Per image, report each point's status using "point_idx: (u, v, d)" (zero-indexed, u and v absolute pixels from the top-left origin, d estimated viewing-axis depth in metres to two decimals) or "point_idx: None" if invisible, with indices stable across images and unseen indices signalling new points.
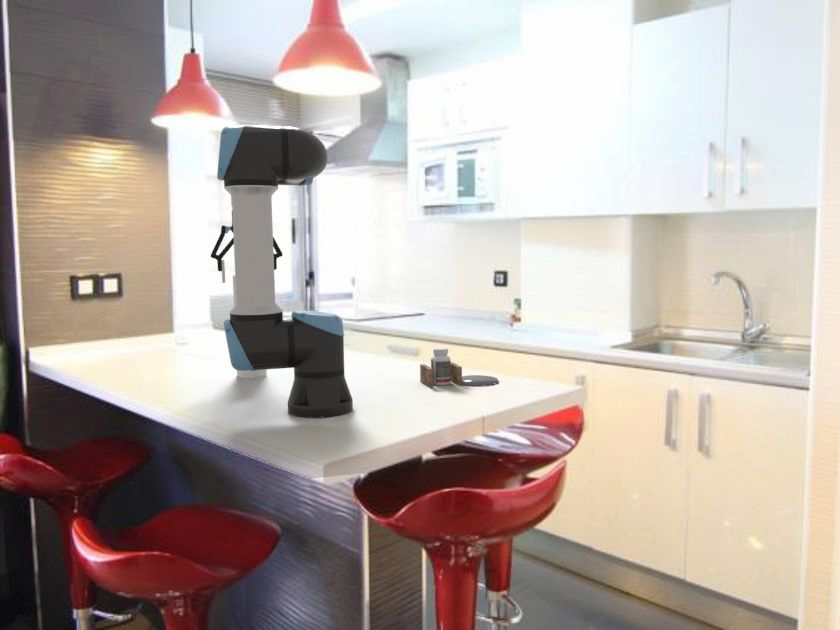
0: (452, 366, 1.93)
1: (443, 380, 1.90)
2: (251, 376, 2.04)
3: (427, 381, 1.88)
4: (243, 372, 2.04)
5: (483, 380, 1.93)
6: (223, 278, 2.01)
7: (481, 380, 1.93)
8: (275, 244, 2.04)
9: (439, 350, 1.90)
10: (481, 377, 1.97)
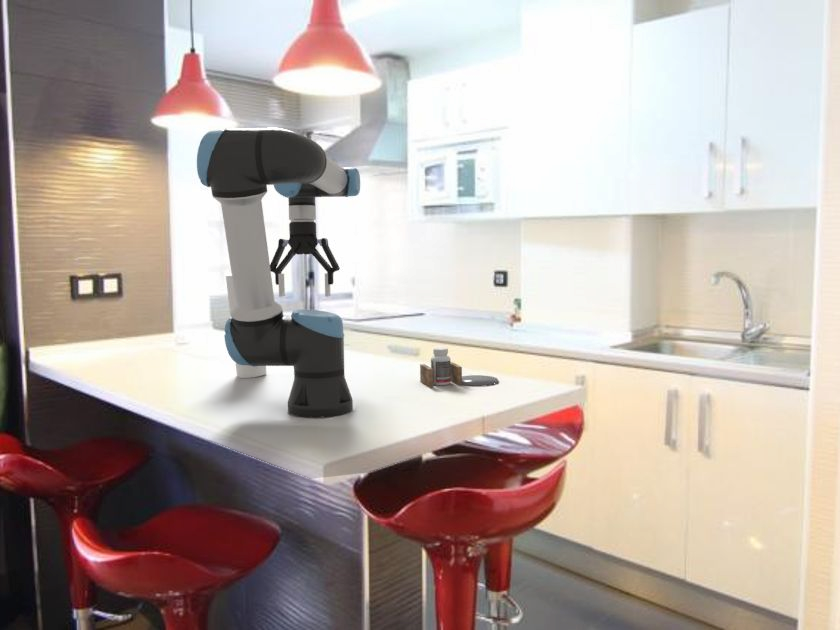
0: (452, 366, 1.93)
1: (443, 380, 1.90)
2: (251, 375, 2.04)
3: (427, 381, 1.88)
4: (243, 372, 2.04)
5: (483, 380, 1.93)
6: (279, 292, 1.99)
7: (481, 380, 1.93)
8: (330, 258, 1.96)
9: (439, 350, 1.90)
10: (481, 377, 1.97)
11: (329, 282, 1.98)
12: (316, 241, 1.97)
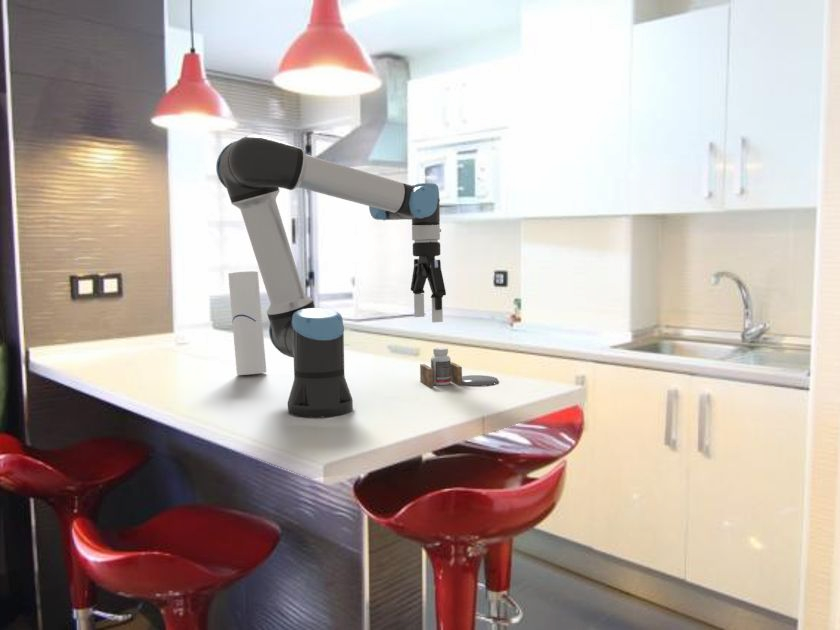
0: (452, 366, 1.93)
1: (443, 380, 1.90)
2: (250, 372, 2.04)
3: (427, 381, 1.88)
4: (242, 369, 2.04)
5: (483, 380, 1.93)
6: (414, 312, 1.97)
7: (481, 380, 1.93)
8: (434, 282, 1.82)
9: (439, 350, 1.90)
10: (481, 377, 1.97)
11: (435, 307, 1.84)
12: (429, 263, 1.86)
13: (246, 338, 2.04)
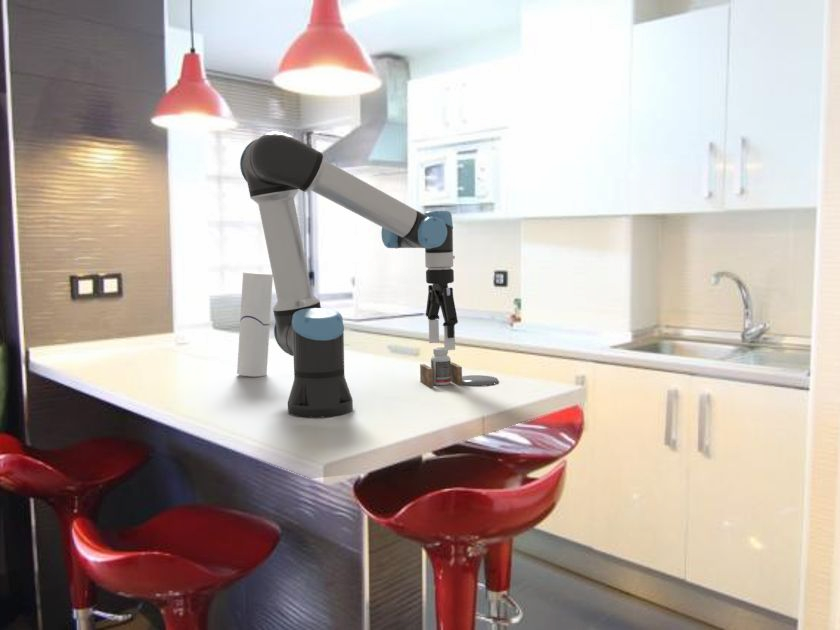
0: (452, 366, 1.93)
1: (443, 380, 1.90)
2: (251, 374, 2.04)
3: (427, 381, 1.88)
4: (243, 370, 2.04)
5: (483, 380, 1.93)
6: (429, 338, 1.97)
7: (481, 380, 1.93)
8: (446, 310, 1.82)
9: (439, 350, 1.90)
10: (481, 377, 1.97)
11: (448, 335, 1.84)
12: (442, 290, 1.85)
13: (251, 340, 2.03)
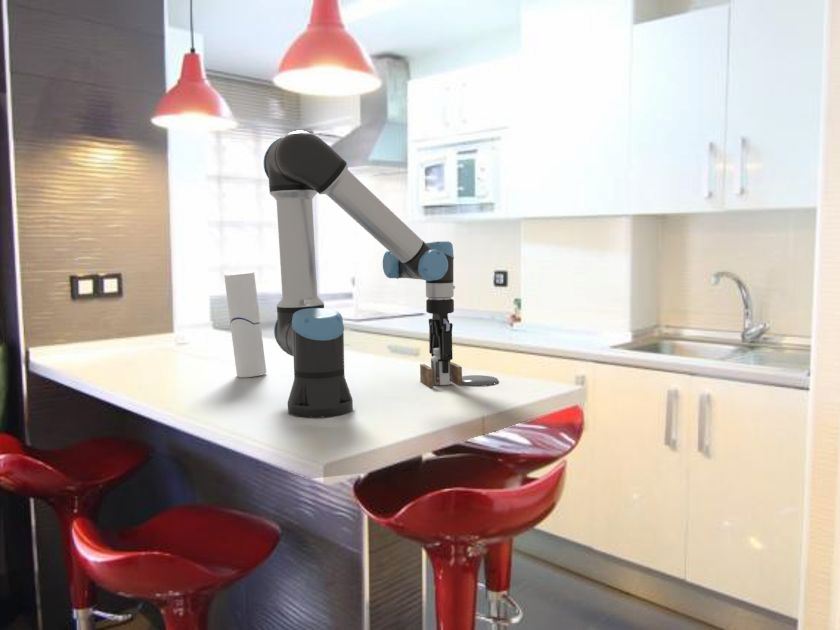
0: (452, 366, 1.93)
1: None
2: (250, 375, 2.04)
3: (427, 381, 1.88)
4: (242, 371, 2.04)
5: (483, 380, 1.93)
6: None
7: (481, 380, 1.93)
8: (443, 345, 1.85)
9: (439, 350, 1.90)
10: (481, 377, 1.97)
11: (442, 371, 1.88)
12: (442, 322, 1.86)
13: (244, 341, 2.03)
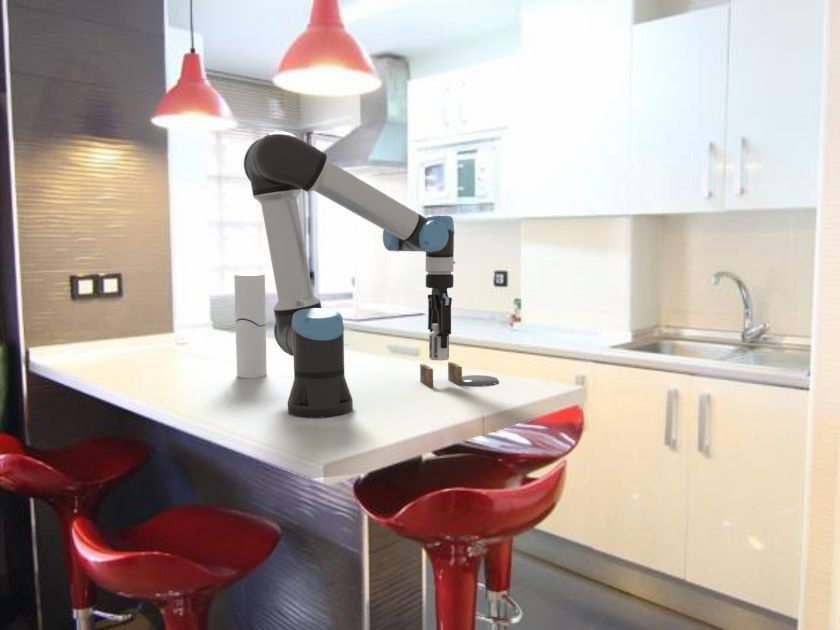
0: (452, 366, 1.93)
1: None
2: (250, 376, 2.04)
3: (427, 381, 1.88)
4: (243, 372, 2.04)
5: (483, 380, 1.93)
6: None
7: (481, 380, 1.93)
8: (441, 320, 1.84)
9: None
10: (481, 377, 1.97)
11: (441, 345, 1.87)
12: (441, 297, 1.86)
13: (248, 342, 2.02)
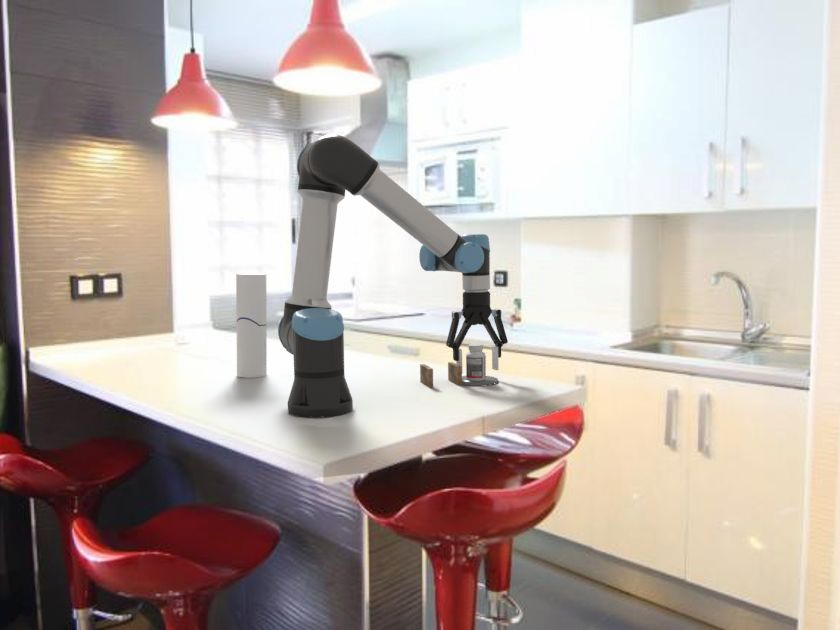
0: (452, 366, 1.93)
1: None
2: (249, 375, 2.04)
3: (427, 381, 1.88)
4: (242, 371, 2.04)
5: (483, 380, 1.93)
6: None
7: None
8: (502, 330, 1.94)
9: (482, 345, 1.93)
10: None
11: (498, 355, 1.95)
12: (491, 311, 1.93)
13: (248, 341, 2.03)
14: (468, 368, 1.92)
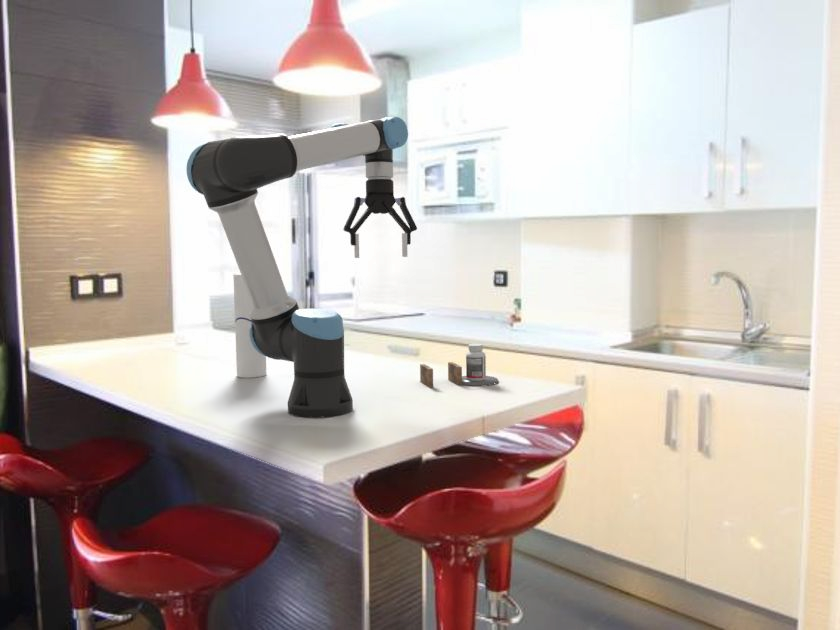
0: (452, 366, 1.93)
1: None
2: (249, 375, 2.04)
3: (427, 381, 1.88)
4: (241, 371, 2.04)
5: (483, 380, 1.93)
6: (357, 253, 1.90)
7: None
8: (410, 217, 1.93)
9: (482, 345, 1.93)
10: None
11: (408, 242, 1.94)
12: (395, 200, 1.92)
13: (246, 341, 2.03)
14: (468, 368, 1.92)
